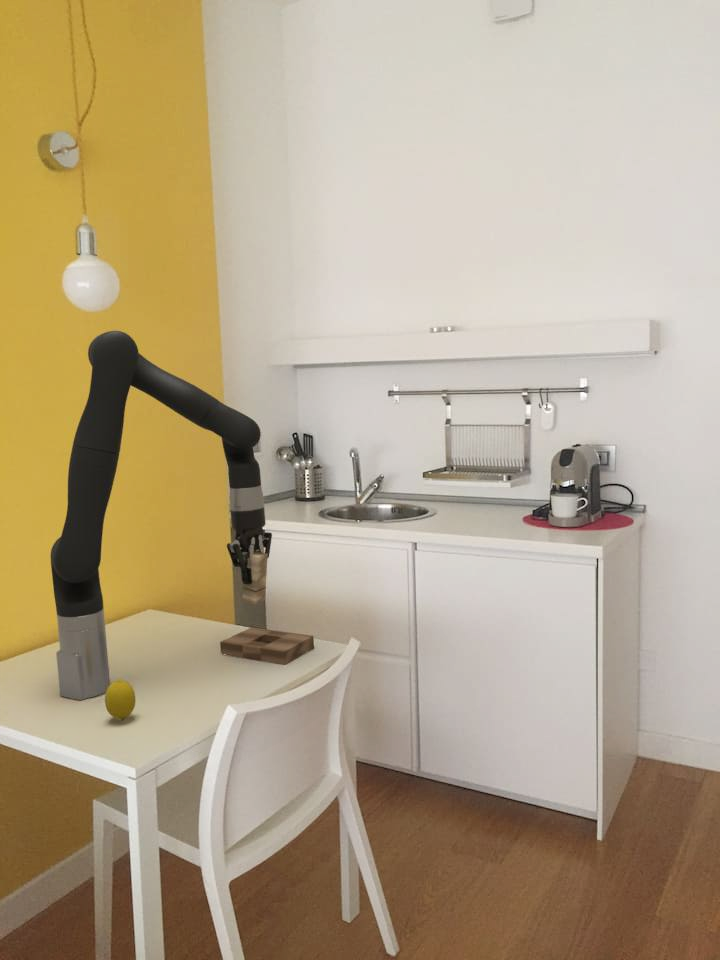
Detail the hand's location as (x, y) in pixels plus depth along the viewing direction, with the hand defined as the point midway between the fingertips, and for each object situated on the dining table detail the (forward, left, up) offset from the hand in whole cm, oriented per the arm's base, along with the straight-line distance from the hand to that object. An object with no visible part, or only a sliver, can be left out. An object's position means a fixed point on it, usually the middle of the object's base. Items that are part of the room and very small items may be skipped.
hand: (253, 581), depth 186 cm
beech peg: (0, 0, -4) cm, 4 cm away
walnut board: (+5, +1, -18) cm, 18 cm away
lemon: (-38, +4, -18) cm, 43 cm away
